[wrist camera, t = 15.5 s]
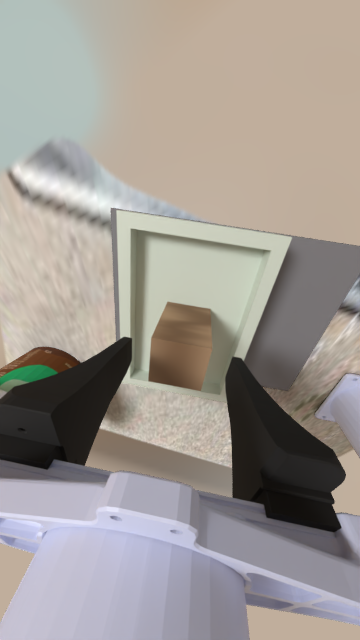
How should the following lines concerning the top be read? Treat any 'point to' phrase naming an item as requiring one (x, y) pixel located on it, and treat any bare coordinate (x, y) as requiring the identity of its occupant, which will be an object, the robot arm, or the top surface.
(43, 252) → the top surface
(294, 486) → the robot arm
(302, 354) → the mat
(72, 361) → the food container
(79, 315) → the top surface
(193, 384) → the walnut block
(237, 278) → the pale green tray
